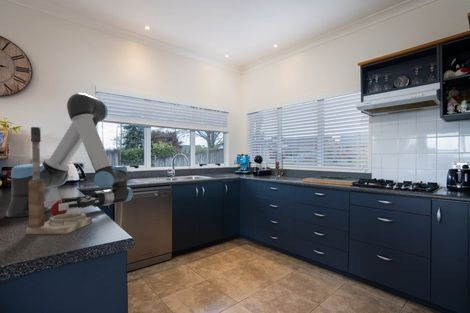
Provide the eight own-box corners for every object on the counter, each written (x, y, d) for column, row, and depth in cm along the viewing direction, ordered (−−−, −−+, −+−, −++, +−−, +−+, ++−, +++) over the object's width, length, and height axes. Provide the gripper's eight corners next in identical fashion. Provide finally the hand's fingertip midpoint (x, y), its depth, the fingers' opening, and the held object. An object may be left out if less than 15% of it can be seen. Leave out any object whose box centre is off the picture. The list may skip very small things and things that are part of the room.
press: (57, 222, 97) (56, 131, 97) (91, 222, 97) (90, 130, 97) (26, 233, 83) (25, 126, 83) (65, 233, 83) (64, 126, 83)
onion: (58, 220, 101) (58, 201, 101) (47, 219, 102) (46, 200, 102) (70, 216, 107) (70, 198, 107) (59, 216, 108) (59, 198, 108)
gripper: (116, 208, 113) (65, 218, 95) (88, 203, 126) (39, 211, 108) (116, 192, 113) (65, 199, 95) (88, 189, 126) (39, 194, 108)
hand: (51, 205), depth 102 cm, fingers open, 13 cm apart
